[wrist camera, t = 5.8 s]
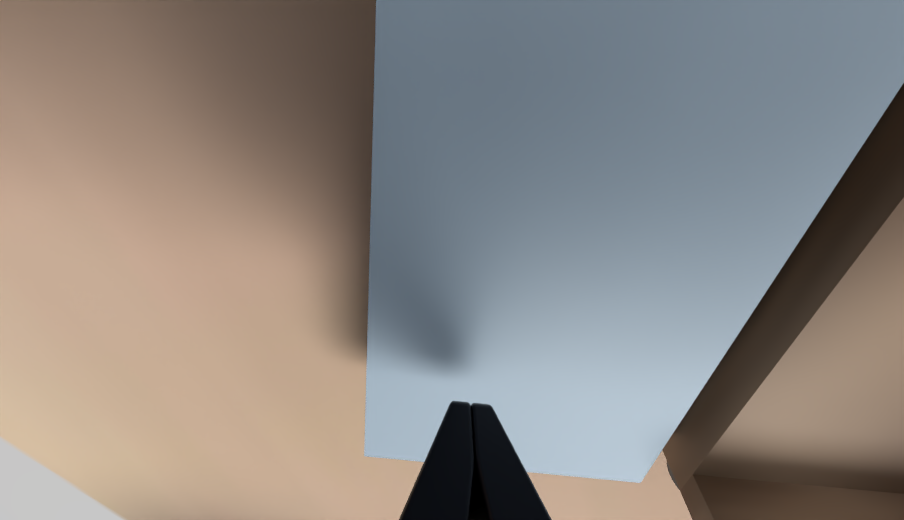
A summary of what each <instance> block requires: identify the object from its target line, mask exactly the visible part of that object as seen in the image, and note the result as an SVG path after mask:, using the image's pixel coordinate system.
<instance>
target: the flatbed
mask: <svg viewBox="0 0 904 520" xmlns="http://www.w3.org/2000/svg"><path fill="white" fill-rule="evenodd" d="M662 450H663V452H664V455H665V457H666V459H667V467H668V471H669V474H670V476H671V478H672V480H673V481H674V483H675V485H676V486H677V487H678V489H679V490H680V492H681V494H682V496H683V498H684V501H685V503H686V505H687V508H688V510H689V512H690V515H691V517H692V519H693V520H904V83H903V85H902V86H901V88H900V89H899V91H898V92H897V94H896V95H895V97H894V98H893V100H892V101H891V103H890V104H889V106H888V107H887V109H886V110H885V112H884V114H883V115H882V117H881V118H880V120H879V121H878V123H877V124H876V126H875V127H874V129H873V130H872V132H871V133H870V135H869V136H868V138H867V139H866V141H865V142H864V144H863V145H862V147H861V148H860V150H859V152H858V153H857V155H856V156H855V158H854V159H853V161H852V162H851V164H850V165H849V167H848V168H847V170H846V171H845V173H844V174H843V176H842V177H841V179H840V180H839V182H838V183H837V185H836V186H835V188H834V190H833V191H832V193H831V194H830V196H829V197H828V199H827V200H826V202H825V203H824V205H823V206H822V208H821V209H820V211H819V212H818V214H817V215H816V217H815V218H814V220H813V221H812V223H811V224H810V226H809V228H808V229H807V231H806V232H805V234H804V235H803V237H802V238H801V240H800V241H799V243H798V244H797V246H796V247H795V249H794V250H793V252H792V253H791V255H790V256H789V258H788V259H787V261H786V262H785V264H784V265H783V267H782V269H781V270H780V272H779V273H778V275H777V276H776V278H775V279H774V281H773V282H772V284H771V285H770V287H769V288H768V290H767V291H766V293H765V294H764V296H763V297H762V299H761V300H760V302H759V303H758V305H757V307H756V308H755V310H754V311H753V313H752V314H751V316H750V317H749V319H748V320H747V322H746V323H745V325H744V326H743V328H742V329H741V331H740V332H739V334H738V335H737V337H736V338H735V340H734V341H733V343H732V345H731V346H730V348H729V349H728V351H727V352H726V354H725V355H724V357H723V358H722V360H721V361H720V363H719V364H718V366H717V367H716V369H715V370H714V372H713V373H712V375H711V376H710V378H709V379H708V381H707V383H706V384H705V386H704V387H703V389H702V390H701V392H700V393H699V395H698V396H697V398H696V399H695V401H694V402H693V404H692V405H691V407H690V408H689V410H688V411H687V413H686V414H685V416H684V417H683V419H682V421H681V422H680V424H679V425H678V427H677V428H676V430H675V431H674V433H673V434H672V436H671V437H670V439H669V440H668V442H667V443H666V445H665V446H664V448H663V449H662Z"/></svg>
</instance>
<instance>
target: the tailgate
mask: <svg viewBox="0 0 904 520" xmlns="http://www.w3.org/2000/svg"><path fill="white" fill-rule="evenodd" d="M903 83H904V0H376V27H375V66H374V104H373V143H372V181H371V220H370V258H369V297H368V336H367V374H366V413H365V451H364V456H368V457H379V458H389V459H399V460H410V461H420V462H424V461H425V459H426V457H427V454H428V452H429V450H430V448H431V445H432V443H433V441H434V438H435V436H436V434H437V432H438V429H439V427H440V425H441V422H442V420H443V418H444V416H445V413H446V411H447V409H448V406H449V404H450V403H451V402H452V401H461V402H468V403H470V405H471V404H472V403H482V404H489V405H491V406H492V407H493V409H494V411H495V413H496V415H497V417H498V418H499V420H500V422H501V424H502V426H503V428H504V430H505V432H506V434H507V436H508V438H509V439H510V441H511V443H512V445H513V447H514V449H515V451H516V453H517V455H518V457H519V459H520V460H521V462H522V464H523V466H524V468H525V470H526V472H533V473H544V474H554V475H564V476H575V477H585V478H595V479H606V480H616V481H626V482H637V483H641V481H642V480H643V478H644V477H645V475H646V474H647V472H648V471H649V469H650V468H651V466H652V465H653V463H654V462H655V460H656V459H657V457H658V455H659V454H660V452H661V451H662V449H663V448H664V446H665V445H666V443H667V442H668V440H669V439H670V437H671V436H672V434H673V433H674V431H675V430H676V428H677V427H678V425H679V424H680V422H681V421H682V419H683V417H684V416H685V414H686V413H687V411H688V410H689V408H690V407H691V405H692V404H693V402H694V401H695V399H696V398H697V396H698V395H699V393H700V392H701V390H702V389H703V387H704V386H705V384H706V383H707V381H708V379H709V378H710V376H711V375H712V373H713V372H714V370H715V369H716V367H717V366H718V364H719V363H720V361H721V360H722V358H723V357H724V355H725V354H726V352H727V351H728V349H729V348H730V346H731V345H732V343H733V341H734V340H735V338H736V337H737V335H738V334H739V332H740V331H741V329H742V328H743V326H744V325H745V323H746V322H747V320H748V319H749V317H750V316H751V314H752V313H753V311H754V310H755V308H756V307H757V305H758V303H759V302H760V300H761V299H762V297H763V296H764V294H765V293H766V291H767V290H768V288H769V287H770V285H771V284H772V282H773V281H774V279H775V278H776V276H777V275H778V273H779V272H780V270H781V269H782V267H783V265H784V264H785V262H786V261H787V259H788V258H789V256H790V255H791V253H792V252H793V250H794V249H795V247H796V246H797V244H798V243H799V241H800V240H801V238H802V237H803V235H804V234H805V232H806V231H807V229H808V228H809V226H810V224H811V223H812V221H813V220H814V218H815V217H816V215H817V214H818V212H819V211H820V209H821V208H822V206H823V205H824V203H825V202H826V200H827V199H828V197H829V196H830V194H831V193H832V191H833V190H834V188H835V186H836V185H837V183H838V182H839V180H840V179H841V177H842V176H843V174H844V173H845V171H846V170H847V168H848V167H849V165H850V164H851V162H852V161H853V159H854V158H855V156H856V155H857V153H858V152H859V150H860V148H861V147H862V145H863V144H864V142H865V141H866V139H867V138H868V136H869V135H870V133H871V132H872V130H873V129H874V127H875V126H876V124H877V123H878V121H879V120H880V118H881V117H882V115H883V114H884V112H885V110H886V109H887V107H888V106H889V104H890V103H891V101H892V100H893V98H894V97H895V95H896V94H897V92H898V91H899V89H900V88H901V86H902V85H903Z"/></svg>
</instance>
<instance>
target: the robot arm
mask: <svg viewBox="0 0 904 520" xmlns="http://www.w3.org/2000/svg"><path fill="white" fill-rule="evenodd" d="M399 520H551V518H550V516H549V514H548V512H547V510H546V508H545V506H544V504H543V502H542V501H541V499H540V497H539V495H538V493H537V491H536V489H535V487H534V485H533V483H532V481H531V480H530V478H529V476H528V474H527V472H526V470H525V468H524V466H523V464H522V462H521V460H520V459H519V457H518V455H517V453H516V451H515V449H514V447H513V445H512V443H511V441H510V439H509V438H508V436H507V434H506V432H505V430H504V428H503V426H502V424H501V422H500V420H499V418H498V417H497V415H496V413H495V411H494V409H493V407H492V406H491V405H489V404H482V403H472V404H471V405H470V403H468V402H461V401H452V402H451V403H450V404H449V406H448V409H447V411H446V413H445V416H444V418H443V420H442V422H441V425H440V427H439V429H438V432H437V434H436V436H435V438H434V441H433V443H432V445H431V448H430V450H429V452H428V454H427V457H426V459H425V461H424V464H423V466H422V468H421V471H420V473H419V475H418V477H417V480H416V482H415V484H414V487H413V489H412V491H411V493H410V496H409V498H408V500H407V503H406V505H405V507H404V509H403V512H402V514H401V516H400V519H399Z"/></svg>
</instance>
